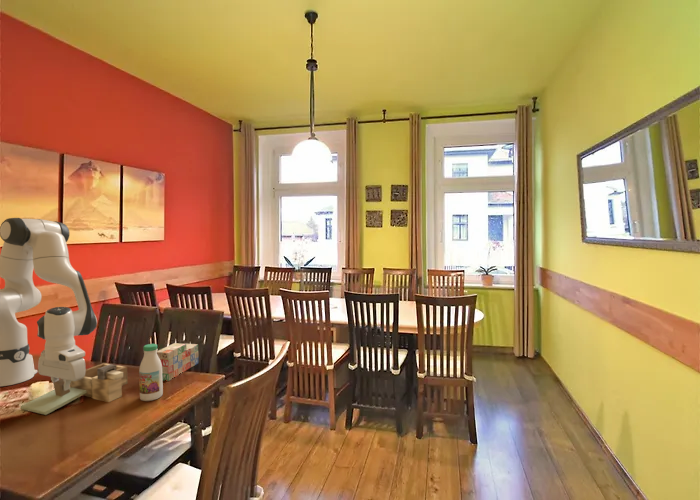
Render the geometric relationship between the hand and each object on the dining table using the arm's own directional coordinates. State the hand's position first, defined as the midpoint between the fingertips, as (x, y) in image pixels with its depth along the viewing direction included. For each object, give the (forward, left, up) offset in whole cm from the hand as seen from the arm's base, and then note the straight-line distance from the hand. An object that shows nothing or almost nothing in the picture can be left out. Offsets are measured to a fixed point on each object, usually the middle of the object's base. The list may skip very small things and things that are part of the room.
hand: (61, 388), depth 135 cm
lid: (0, -3, -3) cm, 4 cm away
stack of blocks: (+18, +38, -5) cm, 42 cm away
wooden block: (+15, +8, +4) cm, 17 cm away
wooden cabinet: (+6, +12, -5) cm, 15 cm away
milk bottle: (+28, +14, -5) cm, 32 cm away
